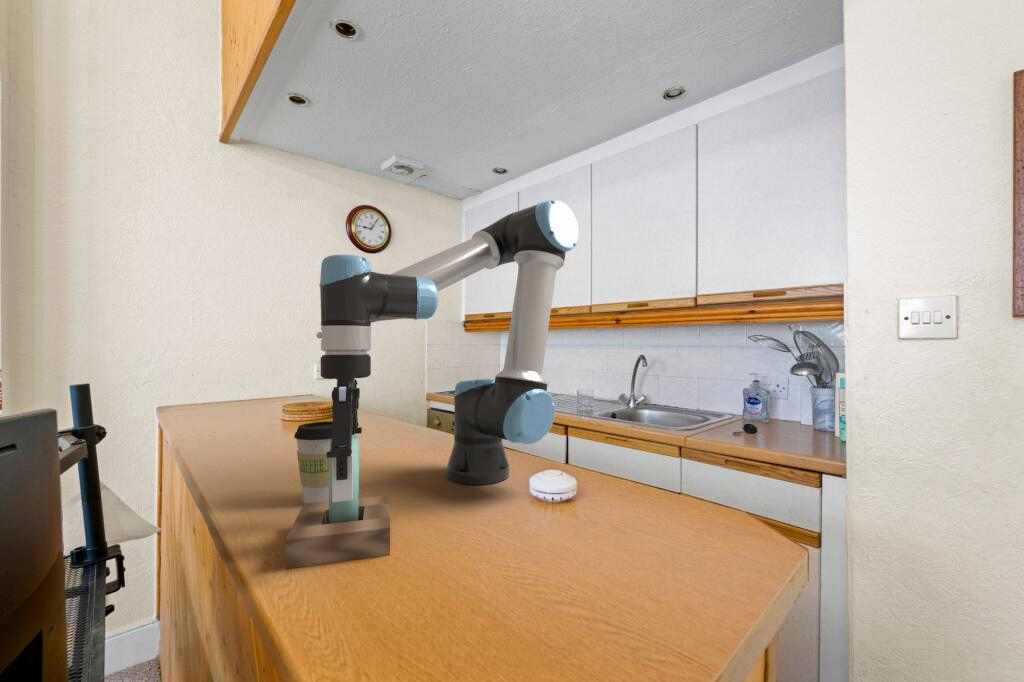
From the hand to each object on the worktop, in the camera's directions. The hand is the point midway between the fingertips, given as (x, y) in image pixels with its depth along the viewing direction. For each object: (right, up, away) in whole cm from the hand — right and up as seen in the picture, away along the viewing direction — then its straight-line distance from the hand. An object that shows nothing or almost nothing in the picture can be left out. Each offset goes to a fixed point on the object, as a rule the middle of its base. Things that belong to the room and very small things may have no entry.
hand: (346, 485), depth 67 cm
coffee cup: (-12, -9, +17) cm, 23 cm away
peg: (0, -9, 0) cm, 9 cm away
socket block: (0, -9, 0) cm, 9 cm away
